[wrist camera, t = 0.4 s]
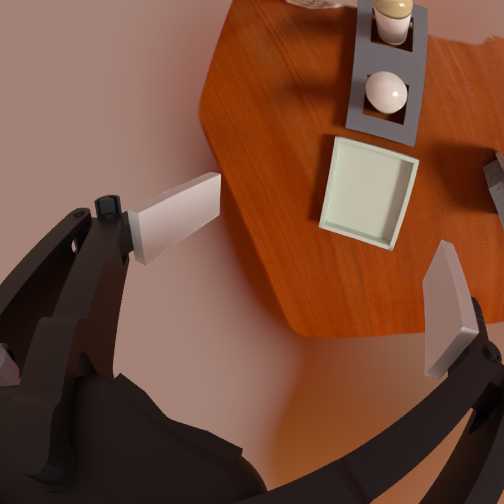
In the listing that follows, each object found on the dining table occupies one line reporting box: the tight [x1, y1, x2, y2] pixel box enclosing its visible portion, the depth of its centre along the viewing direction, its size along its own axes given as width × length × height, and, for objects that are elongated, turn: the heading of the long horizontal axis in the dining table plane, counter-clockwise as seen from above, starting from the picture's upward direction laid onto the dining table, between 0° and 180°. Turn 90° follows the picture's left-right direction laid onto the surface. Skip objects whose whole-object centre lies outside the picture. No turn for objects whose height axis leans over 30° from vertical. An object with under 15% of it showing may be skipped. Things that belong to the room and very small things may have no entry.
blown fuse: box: [365, 71, 407, 114], centre depth 23 cm, size 4×4×12 cm
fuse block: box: [345, 0, 427, 147], centre depth 24 cm, size 20×9×2 cm, turn 176°
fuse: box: [373, 0, 413, 46], centre depth 17 cm, size 4×4×12 cm
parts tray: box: [319, 135, 419, 251], centre depth 34 cm, size 13×11×2 cm
